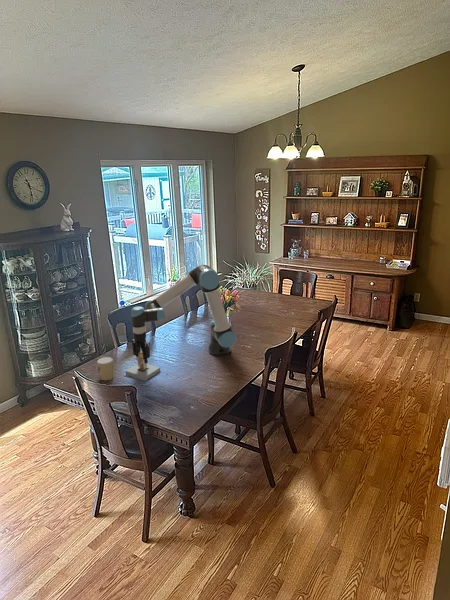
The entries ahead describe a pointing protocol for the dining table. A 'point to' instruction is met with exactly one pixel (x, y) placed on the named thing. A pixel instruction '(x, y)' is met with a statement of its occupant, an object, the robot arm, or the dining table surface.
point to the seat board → (144, 375)
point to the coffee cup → (105, 368)
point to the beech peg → (141, 361)
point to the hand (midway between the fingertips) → (142, 366)
